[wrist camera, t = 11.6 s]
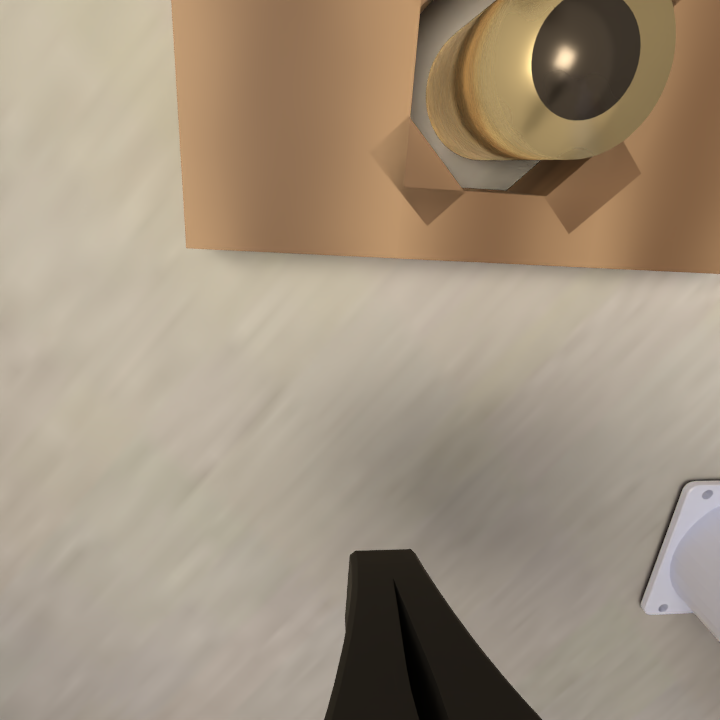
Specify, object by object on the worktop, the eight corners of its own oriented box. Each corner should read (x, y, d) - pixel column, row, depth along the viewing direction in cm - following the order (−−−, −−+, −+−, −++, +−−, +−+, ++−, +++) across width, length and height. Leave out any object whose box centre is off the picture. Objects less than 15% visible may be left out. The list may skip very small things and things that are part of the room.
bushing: (556, 25, 16) (700, -51, 10) (534, 162, 17) (649, 163, 11) (432, 15, 15) (510, -70, 9) (420, 157, 16) (482, 155, 11)
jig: (846, -244, 14) (982, -346, 11) (690, 258, 19) (757, 275, 16) (176, -382, 11) (137, -555, 9) (205, 233, 17) (186, 248, 14)
